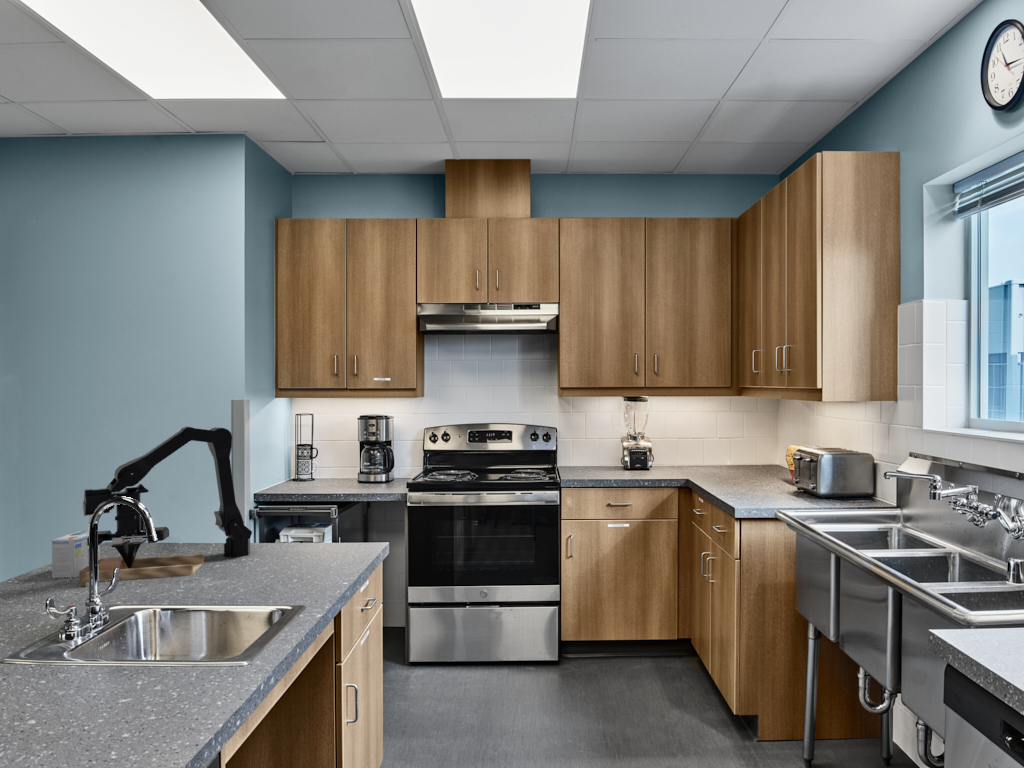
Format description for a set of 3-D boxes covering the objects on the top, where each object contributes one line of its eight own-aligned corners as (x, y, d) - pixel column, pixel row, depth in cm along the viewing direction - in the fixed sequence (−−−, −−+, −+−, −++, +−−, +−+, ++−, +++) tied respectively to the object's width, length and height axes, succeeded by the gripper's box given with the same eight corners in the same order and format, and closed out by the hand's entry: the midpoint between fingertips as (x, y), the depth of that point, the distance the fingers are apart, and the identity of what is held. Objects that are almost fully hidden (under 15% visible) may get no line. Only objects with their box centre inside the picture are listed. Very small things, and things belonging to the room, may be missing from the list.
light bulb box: (78, 567, 186) (78, 530, 186) (101, 567, 186) (100, 530, 186) (50, 578, 176) (50, 539, 176) (74, 578, 175) (74, 538, 176)
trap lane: (204, 565, 185) (203, 551, 186) (191, 578, 173) (191, 563, 173) (100, 573, 180) (100, 558, 180) (79, 586, 167) (79, 571, 167)
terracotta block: (128, 570, 178) (128, 556, 178) (120, 576, 172) (119, 561, 172) (108, 571, 177) (108, 557, 177) (99, 578, 171) (99, 563, 171)
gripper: (174, 503, 185) (175, 557, 185) (103, 507, 182) (104, 562, 182) (162, 510, 175) (163, 567, 174) (85, 514, 171) (86, 573, 171)
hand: (129, 567), depth 176 cm, fingers closed
